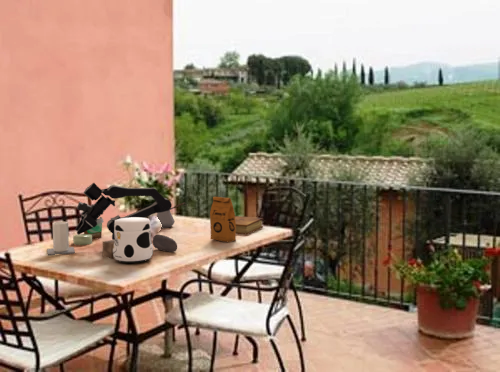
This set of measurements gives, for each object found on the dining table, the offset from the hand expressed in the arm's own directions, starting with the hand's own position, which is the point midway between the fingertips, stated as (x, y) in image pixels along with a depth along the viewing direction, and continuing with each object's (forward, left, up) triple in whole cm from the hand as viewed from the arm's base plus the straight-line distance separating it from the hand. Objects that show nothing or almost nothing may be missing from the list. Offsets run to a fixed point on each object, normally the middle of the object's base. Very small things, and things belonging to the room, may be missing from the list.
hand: (76, 232), depth 299 cm
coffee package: (-23, -67, -9) cm, 71 cm away
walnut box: (-22, -8, -9) cm, 25 cm away
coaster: (+2, +7, -9) cm, 12 cm away
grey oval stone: (-26, -33, -9) cm, 43 cm away
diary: (-3, -90, -10) cm, 91 cm away
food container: (+22, -18, -9) cm, 30 cm away
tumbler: (+2, +7, -8) cm, 11 cm away
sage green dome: (+14, -8, -9) cm, 19 cm away
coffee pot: (+24, -63, -9) cm, 68 cm away
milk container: (-35, -12, -9) cm, 38 cm away
